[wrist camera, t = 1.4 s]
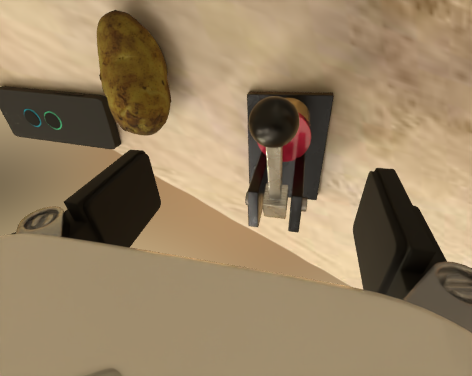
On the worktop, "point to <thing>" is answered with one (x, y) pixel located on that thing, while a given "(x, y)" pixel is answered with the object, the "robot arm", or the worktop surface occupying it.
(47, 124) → the smart home device
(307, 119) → the cake
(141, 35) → the potato
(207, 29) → the worktop surface
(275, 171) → the black ball knob
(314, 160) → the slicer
